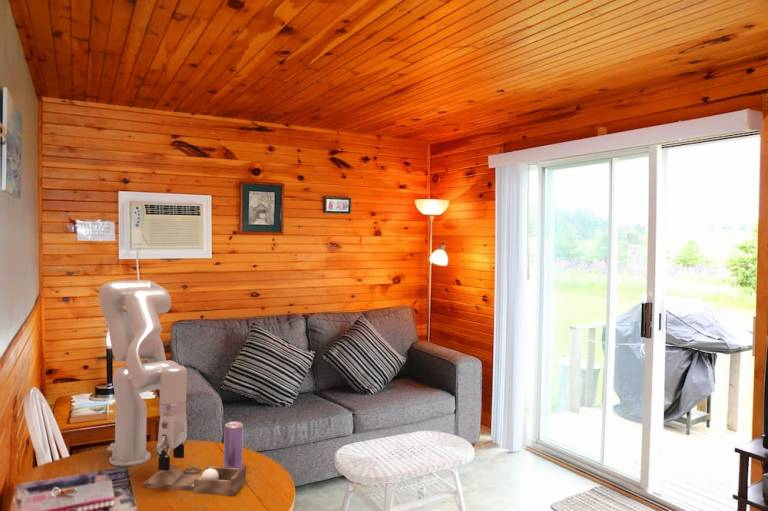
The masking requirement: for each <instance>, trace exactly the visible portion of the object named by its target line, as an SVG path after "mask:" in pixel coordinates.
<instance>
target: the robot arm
mask: <svg viewBox="0 0 768 511" xmlns="http://www.w3.org/2000/svg"><path fill="white" fill-rule="evenodd" d="M171 298H172V297H171V295H170V293H169V292H168V291H167V289H166V288H164V287H163V286H161V285H160V284H157V283H156V282H154V281H152V280H147V279H146V280H144V279H143V280H142V279H141V280H140V279H139V280H117V281H116V280H115V281H110V282H106V283H104V284H103V285H102V286H101V287H100V288H99V292H98V304H99V308H100V311H101V313H102V315H103V317H104V319H105V321H106V324H107V327H108V334H109V335H108V336H109V339H110V344H111V350H112V354H113V357H114V359H115V360H116V361H117V362H119V363H126V365H123V366H121V367H119V368H117V369H116V370H115V371H114V373H113V374H112V385H113V386H112V387H113V390H114V391H113V393H114V400H115V407H114V408H115V415H114V416H115V420H114V421H115V422H114V423H115V424H114V426H115V427H114V429H115V430H114V432H115V433H114V442H111V443H110V444H109V446H107V449H106V451H107V452H111V453H112V454H111V456H109V459H108V460H109V461H108V462H109V463H110V465H112V466H115V467H131V466H132V467H134V466H138V465H141V464H144V463H146V462H148V461H149V460H150V459H151V458H152V457H151V456H152V454H151V452H150V451H148V450H147V415H148V414H147V412H148V409H147V406H148V405H147V403H146V401H145V400H144V399H143V398H142V397H141V395H140V394H142V393H146V392H150V391H157V390H159V404H158V406H159V407H158V408H159V410H158V413H159V415H160V416H159V424H158V425H159V426H158V438H157V440H158V441H157V442H158V443H157V444H156V447H155V448H156V451H157V452H156V453H157V458H158V464H157V465H158V470H159V471H160V470H165V471H168V470H169V469H170V465H171V463H170V462H171V456H170V453H171V450H173V455H172V456H173V459H183V458H184V457H185V443H186V440H187V438H188V420H187V411H186V409H187V374H188V373H187V369H186V367H185V366H184V365H180V364H179V363H177V362H175V360H170V359H169V360H167V358H166V353H165V352H166V351H165V348H164V344H163V340H162V338H161V336H160V335H161V334H162V332H163V327H162V325H161V322H160V318H159V316H158V314H166V313H167V312H169V311H170V309H171V308H172V299H171ZM124 307H125V308H124ZM143 360H144V361H146V362H144V363H143V362H142V361H143ZM165 450H166V451H165Z"/></svg>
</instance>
